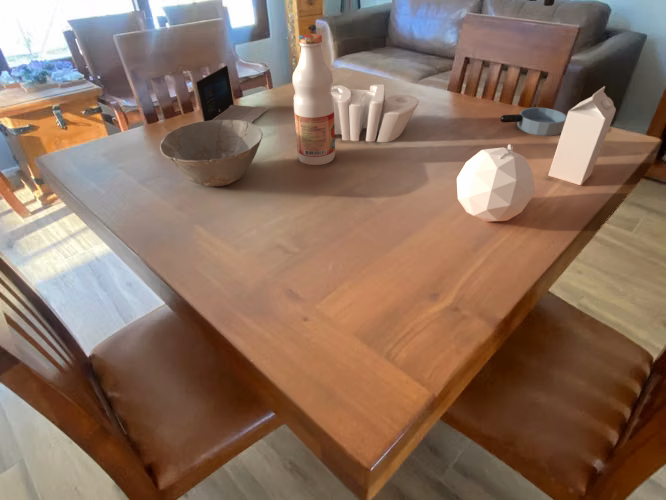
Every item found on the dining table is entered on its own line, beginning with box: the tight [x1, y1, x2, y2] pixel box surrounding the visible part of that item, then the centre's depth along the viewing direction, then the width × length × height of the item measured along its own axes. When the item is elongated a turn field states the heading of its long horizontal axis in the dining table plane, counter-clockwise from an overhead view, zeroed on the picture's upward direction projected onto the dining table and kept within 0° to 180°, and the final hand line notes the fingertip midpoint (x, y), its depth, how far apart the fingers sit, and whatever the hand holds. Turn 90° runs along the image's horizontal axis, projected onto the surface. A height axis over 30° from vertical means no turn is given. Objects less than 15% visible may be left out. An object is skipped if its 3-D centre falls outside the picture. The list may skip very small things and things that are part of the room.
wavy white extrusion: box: [293, 83, 420, 143], centre depth 118 cm, size 35×16×11 cm, turn 77°
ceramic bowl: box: [159, 120, 264, 188], centre depth 97 cm, size 22×23×10 cm
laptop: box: [195, 64, 269, 124], centre depth 126 cm, size 18×12×13 cm
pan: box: [500, 107, 567, 137], centre depth 118 cm, size 18×12×4 cm
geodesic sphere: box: [456, 143, 536, 223], centre depth 81 cm, size 15×14×14 cm
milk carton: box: [547, 85, 617, 186], centre depth 91 cm, size 7×7×19 cm
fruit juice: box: [291, 33, 336, 166], centre depth 99 cm, size 9×9×28 cm
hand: (540, 3), depth 106 cm, fingers open, 8 cm apart
